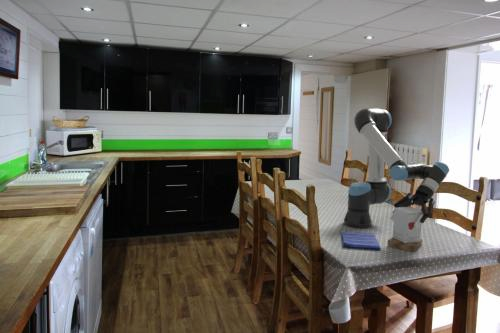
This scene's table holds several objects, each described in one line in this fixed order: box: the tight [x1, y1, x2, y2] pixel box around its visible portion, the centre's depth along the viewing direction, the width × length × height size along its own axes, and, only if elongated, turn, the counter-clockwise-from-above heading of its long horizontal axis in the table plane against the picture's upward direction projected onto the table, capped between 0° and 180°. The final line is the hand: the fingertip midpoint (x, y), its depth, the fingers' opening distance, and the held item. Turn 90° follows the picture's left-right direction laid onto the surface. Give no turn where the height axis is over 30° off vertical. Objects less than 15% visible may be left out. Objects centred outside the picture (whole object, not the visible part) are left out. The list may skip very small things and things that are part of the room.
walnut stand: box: [387, 236, 423, 253], centre depth 183 cm, size 12×12×3 cm
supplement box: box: [392, 206, 423, 243], centre depth 182 cm, size 9×9×15 cm
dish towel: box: [340, 229, 382, 251], centre depth 189 cm, size 17×24×3 cm
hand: (403, 223), depth 181 cm, fingers open, 13 cm apart
